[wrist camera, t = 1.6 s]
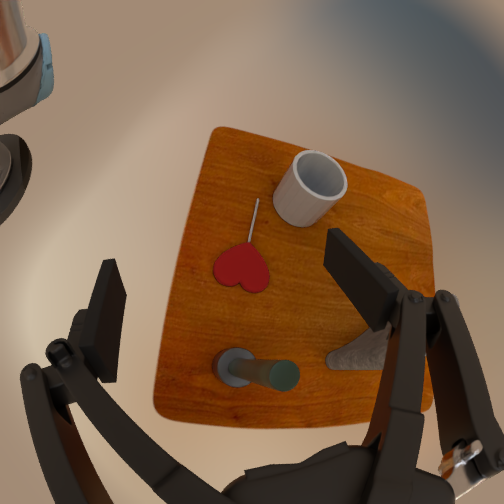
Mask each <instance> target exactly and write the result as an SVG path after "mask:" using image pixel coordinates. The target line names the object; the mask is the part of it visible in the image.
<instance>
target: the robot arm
mask: <svg viewBox="0 0 504 504" xmlns="http://www.w3.org/2000/svg"><path fill="white" fill-rule="evenodd" d="M53 86H54V74H53V66H52V54H51V47H50V42H49V38H48V35H47V34H45V33H42V34H38V33H37V31H36V30H35V29H34V28H32V27H30V26H26V24H25V19H24V13H23V7H22V2H21V0H0V125H1V124H3V123H4V122H6V121H8V120H9V119H11V118H13V117H14V116H16V115H18V114H19V113H21V112H23V111H25V110H27V109H29V108H31V107H33V106H35V105H36V104H37V103H39V102H40V101H42V100H44V99H46V98H47V97H48V96H49V95H50V94H51V93H52V91H53ZM12 166H13V159H12V155H11V153H10V151H9V150H8V148H7V147H6V146H5V145H4V144H3V143H1V142H0V194H1V192H2V191H3V189H4V188H5V186H6V184H7V182H8V180H9V177H10V175H11V171H12ZM323 265H324V267H325V268H326V269H327V270H328V272H329V273H330V274H331V276H332V277H333V278H334V280H335V281H336V282H337V284H338V285H339V286H340V288H341V289H342V290H343V292H344V293H345V294H346V296H347V297H348V298H349V300H350V301H351V302H352V304H353V305H354V306H355V308H356V309H357V310H358V312H359V313H360V314H361V316H362V317H363V319H364V320H365V321H366V323H367V324H368V325H369V327H370V328H371V330H372V331H373V332H374V333H375V332H378V331H380V330H383V329H385V327H386V325H387V322H388V321H389V323H390V324H391V325H392V326H391V328H390V331H389V333H388V335H387V338H386V340H388V345H387V351H386V356H385V362H384V367H383V372H382V377H381V381H380V386H379V390H378V394H377V399H376V403H375V407H374V411H373V414H372V418H371V422H370V425H369V429H368V432H367V434H366V437H365V439H364V441H363V443H362V445H361V446H360V445H347V443H346V441H344V442H342V443H339V444H336V445H333V446H331V447H328V448H325V449H323V450H321V451H319V452H318V453H316V454H314V455H313V456H311V457H309V458H308V459H306V460H305V461H303V462H301V463H297V464H272V465H271V464H270V465H266V466H262V467H257V468H253V469H248V470H244V471H245V475H243V476H240V477H239V478H237V479H235V480H234V481H232V482H231V483H230V484H229V485H227V486H226V487H225V488H224V490H223V491H222V492H221V493H220V492H219V491H217V490H216V489H214V488H213V487H212V486H210V485H209V484H207V483H206V482H205V481H203V480H202V479H200V478H199V477H198V476H196V475H195V474H194V473H193V472H191V471H190V470H188V469H187V468H186V467H184V466H183V465H181V464H180V463H179V462H177V461H176V460H175V459H174V458H173V457H171V456H170V455H169V454H168V453H167V452H166V451H164V450H163V449H162V448H161V447H160V446H159V445H158V444H156V442H155V441H153V440H152V439H151V438H150V437H149V436H148V435H147V434H146V433H145V432H144V431H143V430H142V429H141V428H140V427H139V426H138V425H137V424H136V423H135V422H134V421H133V420H132V419H131V418H130V417H129V416H128V415H127V414H126V413H125V412H124V411H123V410H122V409H121V408H120V406H119V405H118V404H117V403H116V402H115V401H114V400H113V399H112V398H111V396H110V395H109V394H108V393H107V392H106V391H105V390H104V389H103V387H102V386H101V385H100V384H99V382H98V381H97V378H99V379H100V380H101V382H102V383H114V382H116V381H117V368H118V357H119V348H120V338H121V331H122V323H123V316H124V309H125V303H126V296H127V294H126V292H125V289H124V286H123V283H122V280H121V277H120V273H119V270H118V267H117V264H116V261H115V259H108V260H103V262H102V265H101V268H100V271H99V274H98V277H97V280H96V283H95V286H94V290H93V293H92V296H91V299H90V303H89V306H88V309H81V310H79V311H78V312H77V313H76V315H75V316H74V318H73V322H72V326H71V328H70V332H69V336H68V339H67V340H66V339H63V338H59V339H56V340H54V341H52V342H51V343H50V344H49V345H48V347H47V348H46V353H45V354H46V357H47V359H48V360H49V361H50V363H51V364H52V365H51V366H48V367H45V368H42V369H41V368H40V366H39V365H38V364H36V363H31V364H28V365H27V366H25V367H24V368H23V370H22V371H21V374H20V381H21V388H22V394H23V400H24V405H25V410H26V415H27V419H28V424H29V428H30V432H31V435H32V439H33V443H34V446H35V450H36V453H37V456H38V459H39V463H40V466H41V468H42V471H43V474H44V477H45V480H46V482H47V485H48V487H49V490H50V492H51V494H52V497H53V499H54V501H55V504H114V503H113V502H112V500H111V499H110V496H109V495H108V493H107V491H106V490H105V488H104V486H103V484H102V482H101V480H100V478H99V476H98V474H97V472H96V470H95V468H94V466H93V464H92V462H91V460H90V458H89V456H88V453H87V451H86V449H85V447H84V445H83V442H82V440H81V437H80V435H79V432H78V430H77V427H76V425H75V422H74V419H73V417H72V414H71V411H70V408H69V405H68V404H71V403H74V402H77V403H78V405H79V406H80V408H81V409H82V410H83V412H84V413H85V415H86V416H87V417H88V419H89V420H90V421H91V422H92V424H93V425H94V426H95V427H96V429H97V430H98V431H99V433H100V434H101V435H102V436H103V437H104V439H105V440H106V441H107V442H108V443H109V444H110V446H111V447H112V448H113V449H114V450H115V451H116V452H117V454H118V455H119V456H120V457H121V458H122V459H123V460H124V461H125V462H126V463H127V464H128V465H129V466H130V467H131V468H132V469H133V470H134V471H135V472H136V473H137V474H138V475H139V476H140V477H141V478H142V479H143V480H144V481H145V482H146V483H147V484H148V485H149V486H150V487H151V488H152V490H153V491H154V492H155V493H156V494H157V495H158V496H159V497H160V498H161V499H162V500H164V501H165V502H166V503H167V504H455V500H456V499H458V498H459V497H461V496H462V495H464V494H465V493H467V492H468V491H469V490H471V489H472V488H474V487H475V486H476V485H478V484H480V483H482V482H484V481H486V480H487V479H489V478H491V477H493V476H494V475H496V474H498V473H499V472H501V471H502V470H504V434H503V432H502V430H501V428H500V427H499V424H498V422H497V421H496V419H495V417H494V413H493V409H492V405H491V401H490V396H489V393H488V389H487V385H486V381H485V378H484V374H483V371H482V368H481V365H480V362H479V359H478V356H477V353H476V350H475V347H474V344H473V341H472V339H471V336H470V333H469V331H468V328H467V325H466V323H465V320H464V318H463V316H462V313H461V311H460V308H459V306H458V304H457V302H456V299H455V297H454V296H453V295H452V294H451V293H450V292H448V291H446V290H438V291H437V292H436V294H435V296H434V297H424V296H423V295H422V294H421V293H420V292H417V291H415V290H408V289H407V288H406V287H405V286H404V285H403V284H402V283H401V282H400V281H399V280H398V279H397V278H396V277H394V275H393V274H392V273H390V271H389V270H388V269H387V268H386V267H385V266H383V265H382V264H380V263H378V262H377V263H374V262H373V261H372V260H371V259H370V258H369V257H368V256H367V255H366V254H365V253H364V252H363V251H362V250H361V249H360V248H359V247H358V246H357V245H356V244H355V243H354V242H353V241H352V240H351V239H349V238H348V237H347V236H346V235H345V234H344V233H343V232H342V231H341V230H340V229H339V228H332V229H328V233H327V241H326V249H325V256H324V263H323ZM388 338H389V339H388ZM425 352H426V357H427V361H428V366H429V371H430V376H431V382H432V387H433V393H434V399H435V406H436V413H437V421H438V429H439V439H440V445H441V450H442V454H443V458H442V461H441V464H440V466H439V468H438V471H439V473H440V474H441V477H440V476H437V475H434V474H431V473H429V472H426V471H423V470H421V469H418V468H416V464H417V459H418V454H419V449H420V444H421V438H422V433H423V426H424V415H423V414H421V412H420V409H421V401H422V392H423V382H424V369H425Z"/></svg>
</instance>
